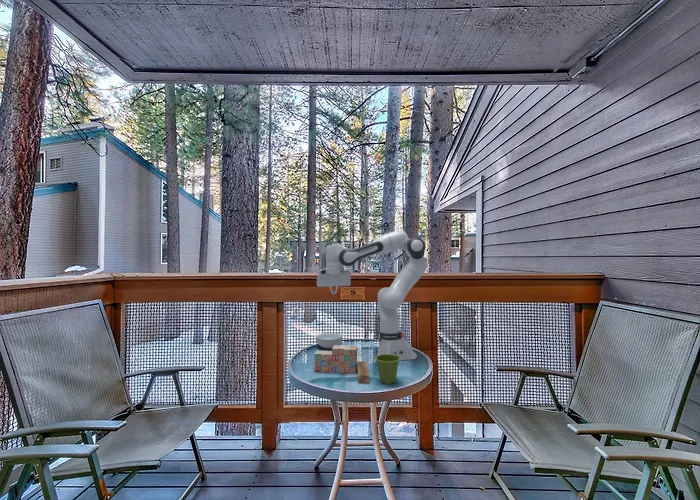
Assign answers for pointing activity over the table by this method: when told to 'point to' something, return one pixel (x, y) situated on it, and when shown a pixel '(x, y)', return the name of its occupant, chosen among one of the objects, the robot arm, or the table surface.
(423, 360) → the table surface
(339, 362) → the stack of blocks
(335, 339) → the cereal bowl
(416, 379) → the table surface
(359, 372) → the board
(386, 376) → the plant pot
